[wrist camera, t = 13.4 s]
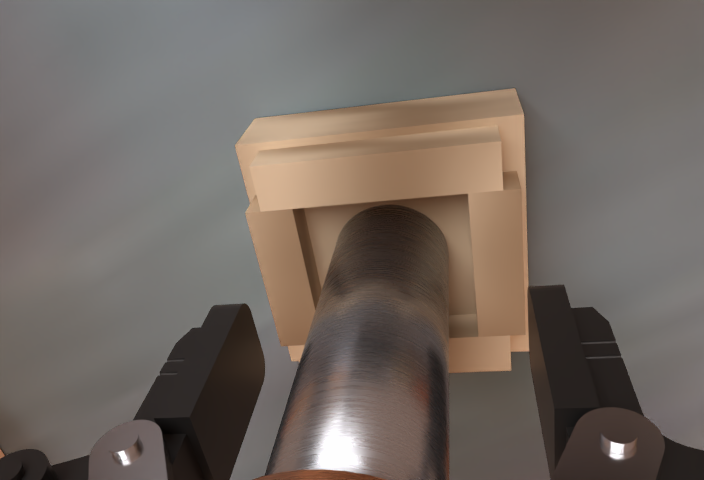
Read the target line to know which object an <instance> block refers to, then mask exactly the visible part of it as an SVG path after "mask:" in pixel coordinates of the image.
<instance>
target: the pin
mask: <svg viewBox="0 0 704 480" xmlns="http://www.w3.org/2000/svg"><path fill="white" fill-rule="evenodd" d="M253 480H449V252H448V246H447V242H446V239H445V237H444V235H443V233H442V232H441V230H440V229H439V227H438V226H437V225H436V224H435V223H434V222H433V221H432V220H431V219H430V218H428V217H427V216H426V215H424V214H423V213H421V212H419V211H417V210H414V209H412V208H409V207H405V206H400V205H379V206H374V207H371V208H368V209H365V210H363V211H361V212H359V213H358V214H356V215H355V216H353V217H352V218H351V219H350V220H349V221H348V222H347V223H346V224H345V225H344V227H343V228H342V230H341V232H340V234H339V236H338V239H337V242H336V246H335V249H334V252H333V255H332V259H331V262H330V265H329V268H328V272H327V275H326V278H325V281H324V285H323V288H322V291H321V294H320V298H319V301H318V304H317V307H316V311H315V314H314V317H313V320H312V324H311V327H310V330H309V333H308V337H307V340H306V343H305V346H304V350H303V353H302V356H301V359H300V363H299V366H298V369H297V372H296V376H295V379H294V382H293V385H292V388H291V392H290V395H289V398H288V401H287V405H286V408H285V411H284V414H283V418H282V421H281V424H280V427H279V431H278V434H277V437H276V440H275V444H274V447H273V450H272V453H271V457H270V460H269V463H268V466H267V470H266V473H265V476H262V477H259V478H256V479H253Z"/></svg>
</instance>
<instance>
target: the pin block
mask: <svg viewBox="0 0 704 480" xmlns="http://www.w3.org/2000/svg"><path fill="white" fill-rule="evenodd" d="M235 148H236V152H237V156H238V160H239V163H240V167H241V171H242V175H243V179H244V182H245V186H246V190H247V194H248V198H249V201H250V205H249V207H248V209H247V211H246V213H245V214H246V218H247V222H248V225H249V229H250V233H251V237H252V240H253V244H254V248H255V251H256V255H257V259H258V262H259V266H260V270H261V274H262V277H263V281H264V285H265V288H266V292H267V296H268V300H269V303H270V307H271V311H272V314H273V318H274V322H275V325H276V329H277V333H278V337H279V340H280V344H281V346H288V349H289V353H290V357H291V361H299V363H300V359H301V356H302V353H303V350H304V346H305V343H306V340H307V337H308V333H309V330H310V327H311V324H312V320H313V317H314V314H315V311H316V307H317V304H318V301H319V298H320V294H321V291H322V288H323V285H324V281H325V278H326V275H327V272H328V268H329V265H330V262H331V259H332V255H333V252H334V249H335V246H336V242H337V239H338V236H339V234H340V232H341V230H342V228H343V227H344V225H345V224H346V223H347V222H348V221H349V220H350V219H351V218H352V217H353V216H355V215H356V214H358V213H359V212H361V211H363V210H365V209H368V208H371V207H374V206H379V205H400V206H405V207H409V208H412V209H414V210H417V211H419V212H421V213H423V214H424V215H426V216H427V217H428V218H430V219H431V220H432V221H433V222H434V223H435V224H436V225H437V226H438V227H439V229H440V230H441V232H442V233H443V235H444V237H445V239H446V242H447V246H448V252H449V373H459V372H486V371H511V352H520V351H529V333H528V299H527V290H528V254H527V214H526V175H525V135H524V113H523V110H522V107H521V104H520V101H519V98H518V95H517V92H516V89H515V88H513V89H504V90H495V91H487V92H478V93H470V94H461V95H452V96H444V97H435V98H427V99H418V100H409V101H401V102H392V103H384V104H375V105H366V106H358V107H349V108H340V109H332V110H323V111H315V112H306V113H297V114H289V115H280V116H272V117H263V118H255V119H254V120H253V122H252V123H251V124H250V126H249V127H248V128H247V130H246V131H245V132H244V134H243V135H242V137H241V138H240V139H239V141H238V142H237V143H236V145H235Z"/></svg>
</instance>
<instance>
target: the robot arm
mask: <svg viewBox="0 0 704 480" xmlns="http://www.w3.org/2000/svg"><path fill="white" fill-rule="evenodd" d="M527 299H528V333H529V354H530V364H531V372H532V378H533V383H534V389H535V394H536V400H537V406H538V411H539V417H540V422H541V428H542V434H543V439H544V445H545V450H546V456H547V461H548V467H549V473H550V478H551V480H704V451H703V450H699V449H694V448H691V447H687V446H684V445H681V444H679V443H676V442H674V441H672V440H670V439H668V438H666V437H665V436H663V435H662V434H661V432H660V430H659V429H658V428H657V427H656V425H655V424H654V423H652V422H651V421H650V420H649V419H647V418H646V417H644V415H643V413H642V410H641V407H640V405H639V402H638V399H637V397H636V394H635V391H634V389H633V386H632V383H631V380H630V378H629V375H628V372H627V370H626V367H625V364H624V362H623V359H622V358H621V353H620V351H619V348H618V345H617V343H616V340H615V337H614V334H613V332H612V329H611V326H610V324H609V322H608V321H607V320H606V319H605V318H604V317H603V316H602V315H601V314H599V313H598V312H597V311H596V310H595V309H594V308H593V307H585V308H571V307H570V303H569V300H568V296H567V293H566V290H565V287H564V285H552V286H535V287H528V290H527ZM264 376H265V361H264V355H263V351H262V348H261V344H260V341H259V338H258V334H257V331H256V327H255V324H254V320H253V317H252V314H251V311H250V308H249V306H248V305H247V304H229V305H214V306H213V307H212V308H211V310H210V311H209V313H208V315H207V317H206V319H205V321H204V323H203V325H202V327H201V328H192V329H191V330H190V331H189V332H188V333H187V334H186V335H185V336H183V337H182V338H181V339H180V340H179V341H178V342H177V343H176V344H175V346H174V348H173V350H172V352H171V353H170V355H169V357H168V359H167V362H165V364H164V366H163V368H162V369H161V371H160V376H158V377H157V378H156V380H155V382H154V384H153V385H152V387H151V389H150V391H149V393H148V394H147V396H146V398H145V400H144V401H143V403H142V405H141V407H140V409H139V410H138V412H137V414H136V416H135V418H134V419H133V421H129V422H126V423H123V424H121V425H118V426H116V427H115V428H113V429H111V430H110V431H108V432H107V433H106V434H104V435H103V436H102V437H101V438H100V439H99V440H98V441H97V443H96V444H95V445H94V447H93V449H92V450H91V453H90V455H88V456H85V457H81V458H78V459H74V460H71V461H67V462H64V463H60V464H56V465H53V466H51V464H50V463H49V461H48V459H47V457H46V456H45V454H44V453H43V452H41V451H39V450H34V449H26V450H20V451H16V452H14V453H11V454H8V455H6V456H4V457H2V458H1V459H0V480H229V479H230V477H231V474H232V471H233V468H234V465H235V462H236V459H237V456H238V454H239V451H240V448H241V445H242V442H243V439H244V436H245V433H246V431H247V428H248V425H249V422H250V419H251V416H252V413H253V410H254V408H255V405H256V402H257V399H258V396H259V393H260V390H261V387H262V385H263V381H264Z"/></svg>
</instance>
